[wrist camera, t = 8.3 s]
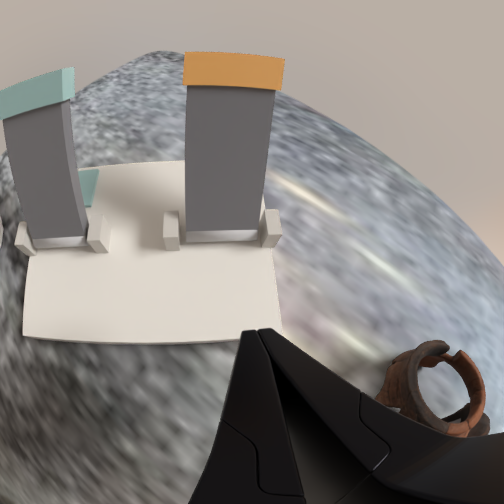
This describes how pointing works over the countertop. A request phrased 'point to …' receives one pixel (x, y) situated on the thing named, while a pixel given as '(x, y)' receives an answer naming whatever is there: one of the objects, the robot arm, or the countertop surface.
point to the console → (148, 269)
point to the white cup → (1, 231)
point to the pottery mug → (412, 404)
